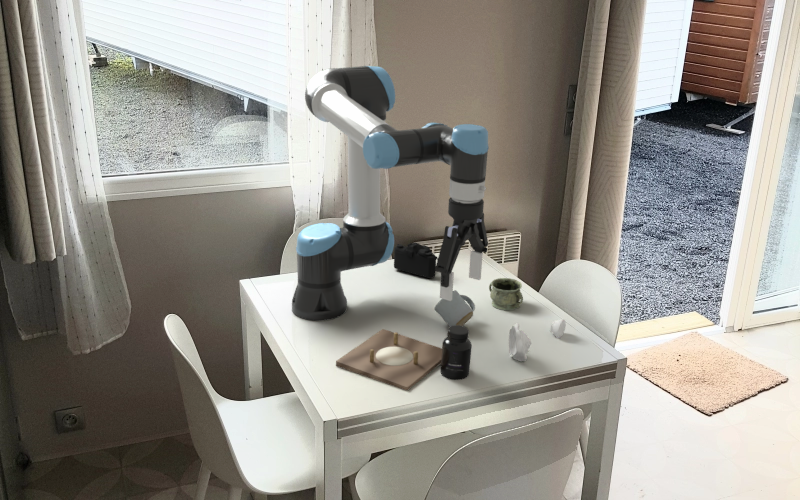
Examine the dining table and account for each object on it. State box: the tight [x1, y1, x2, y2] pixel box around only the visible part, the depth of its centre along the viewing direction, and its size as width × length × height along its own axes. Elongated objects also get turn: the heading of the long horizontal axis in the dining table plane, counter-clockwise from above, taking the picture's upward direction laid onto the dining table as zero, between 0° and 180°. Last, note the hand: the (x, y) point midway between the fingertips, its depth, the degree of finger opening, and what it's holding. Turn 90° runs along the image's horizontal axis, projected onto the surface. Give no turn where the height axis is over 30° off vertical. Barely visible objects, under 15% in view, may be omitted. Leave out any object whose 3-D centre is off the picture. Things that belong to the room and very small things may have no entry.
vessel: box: [488, 277, 524, 311], centre depth 218 cm, size 12×9×6 cm
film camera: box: [393, 241, 438, 279], centre depth 239 cm, size 15×10×9 cm, turn 57°
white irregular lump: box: [549, 319, 567, 339], centre depth 202 cm, size 5×3×5 cm, turn 149°
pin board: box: [335, 328, 442, 391], centre depth 187 cm, size 20×20×4 cm
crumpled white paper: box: [508, 322, 532, 362], centre depth 188 cm, size 10×4×10 cm, turn 5°
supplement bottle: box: [440, 325, 473, 381], centre depth 181 cm, size 7×7×12 cm
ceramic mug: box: [434, 289, 476, 327], centre depth 204 cm, size 11×8×8 cm
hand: (460, 288), depth 175 cm, fingers open, 13 cm apart
